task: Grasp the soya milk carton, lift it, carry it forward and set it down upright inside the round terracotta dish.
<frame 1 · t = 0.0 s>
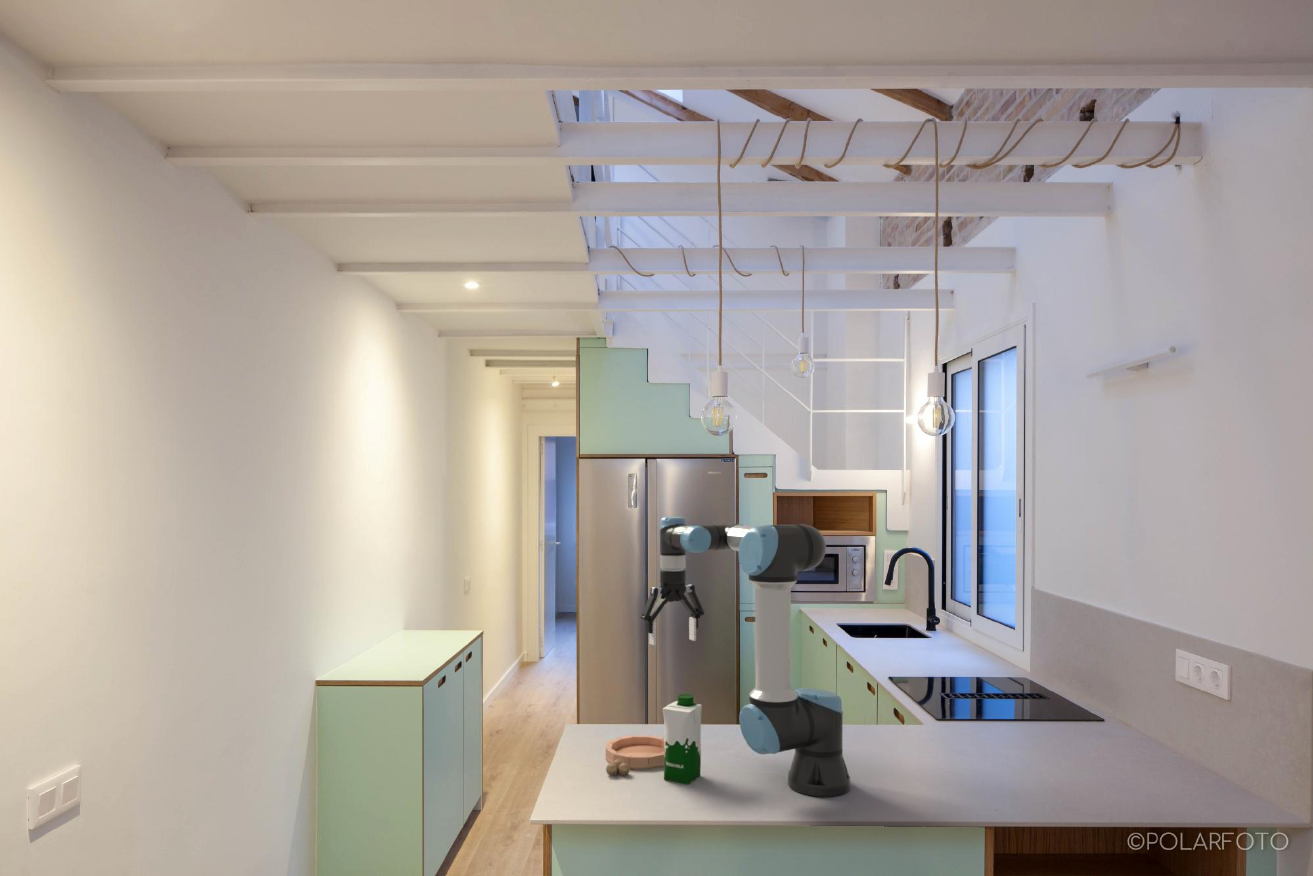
hand: (672, 642, 242), 28 cm above the countertop, fingers open, 13 cm apart
bead pile: (623, 775, 212), on the countertop
tray: (640, 757, 225), on the countertop
soya milk: (682, 778, 210), on the countertop
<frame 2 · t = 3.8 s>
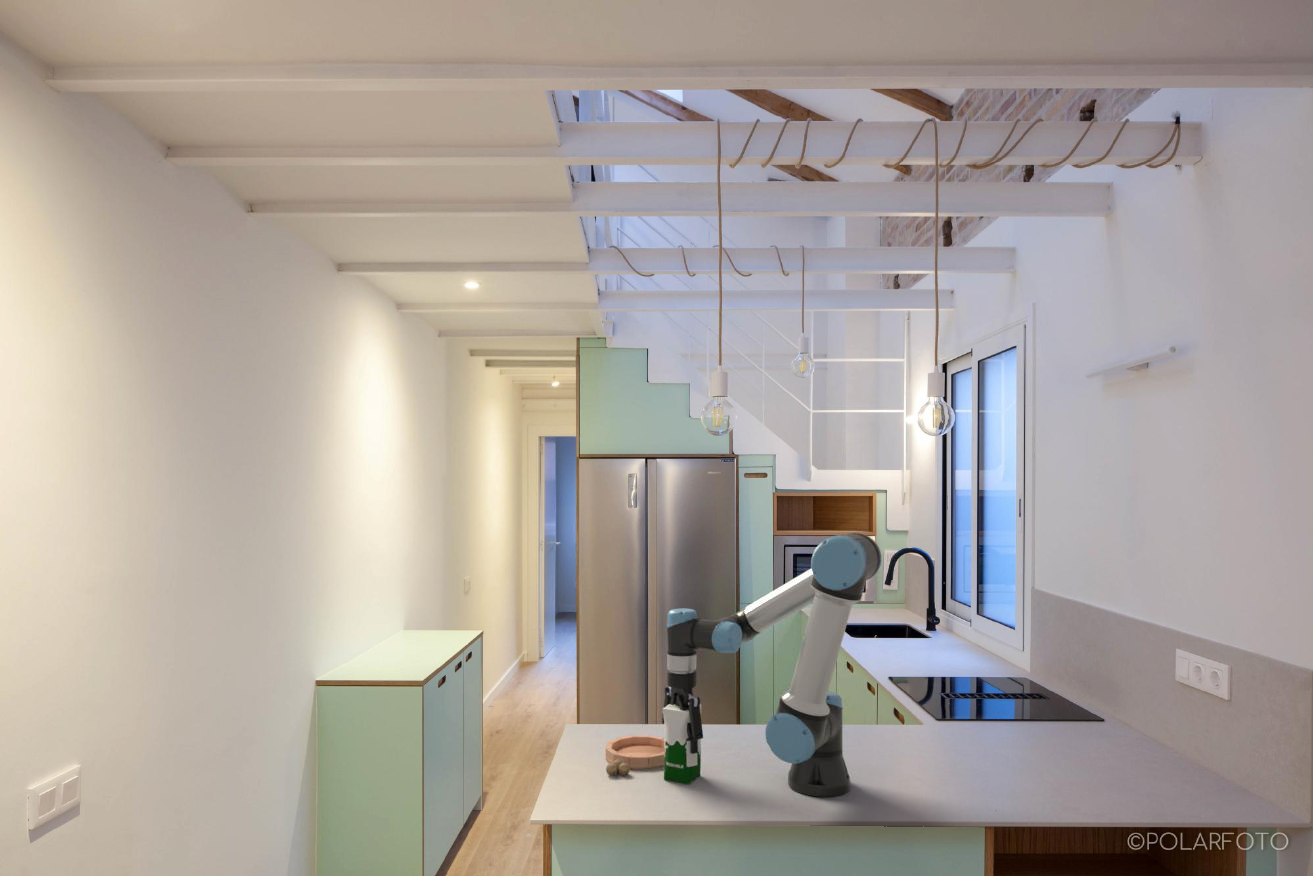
hand: (681, 759, 210), 5 cm above the countertop, fingers closed on soya milk, 9 cm apart
soya milk: (682, 778, 210), on the countertop, touching gripper
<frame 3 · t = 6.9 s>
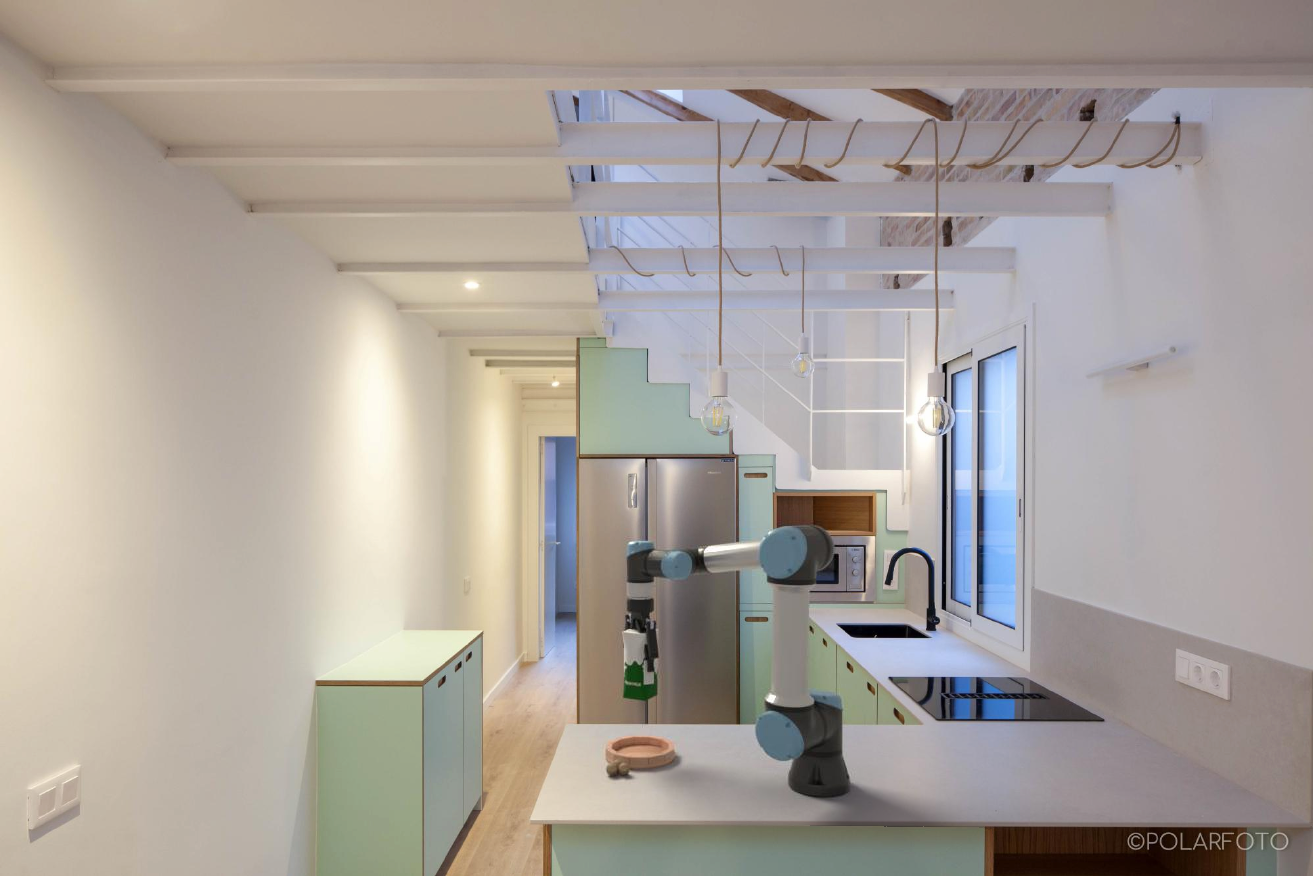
hand: (640, 680, 227), 21 cm above the countertop, fingers closed on soya milk, 9 cm apart
soya milk: (640, 697, 226), point 16 cm above the countertop, touching gripper
when the fingers open (7 cm above the countertop, at t = 9.8 s): soya milk drops 1 cm, resting on tray.
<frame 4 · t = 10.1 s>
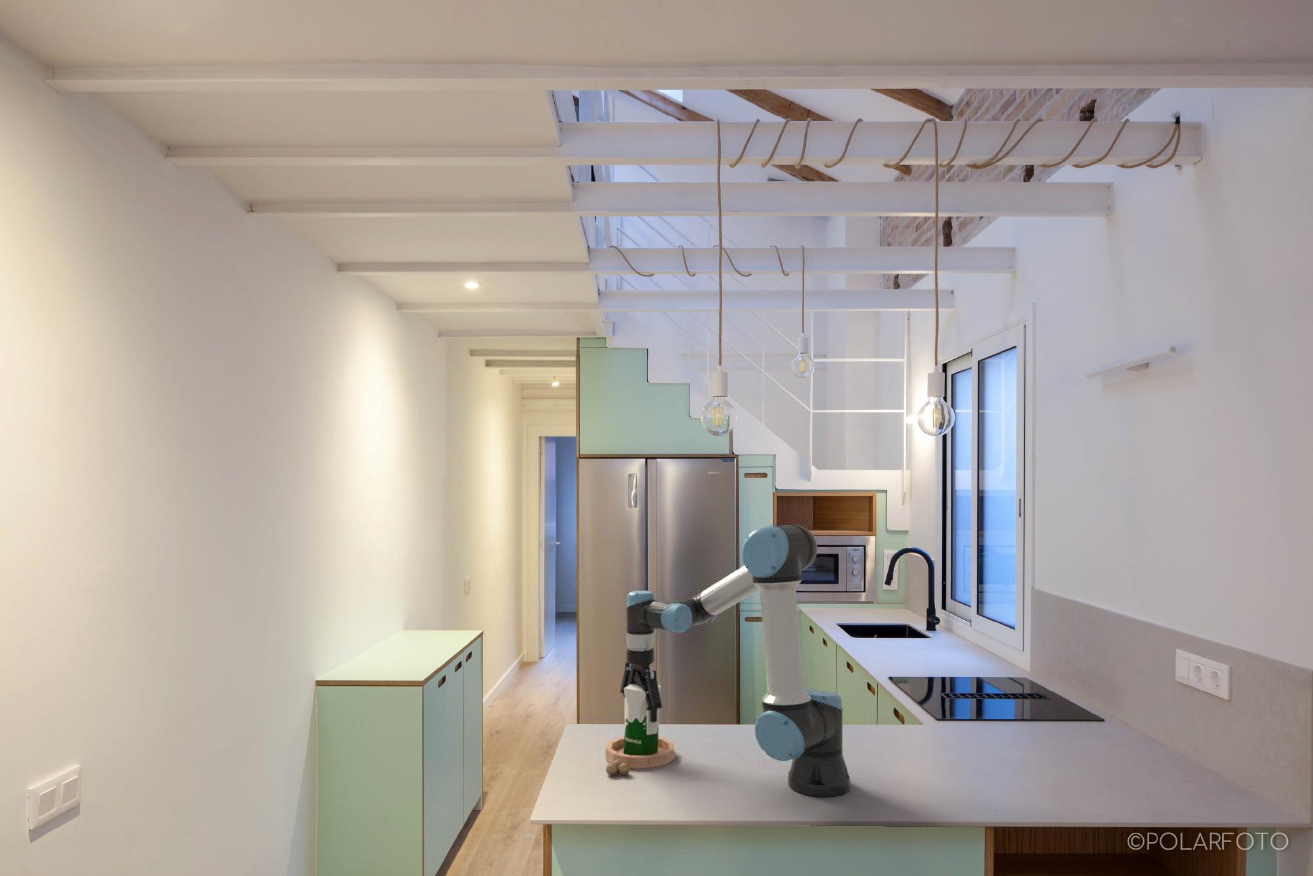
hand: (640, 727, 226), 8 cm above the countertop, fingers open, 12 cm apart
soya milk: (640, 754, 225), point 1 cm above the countertop, touching tray
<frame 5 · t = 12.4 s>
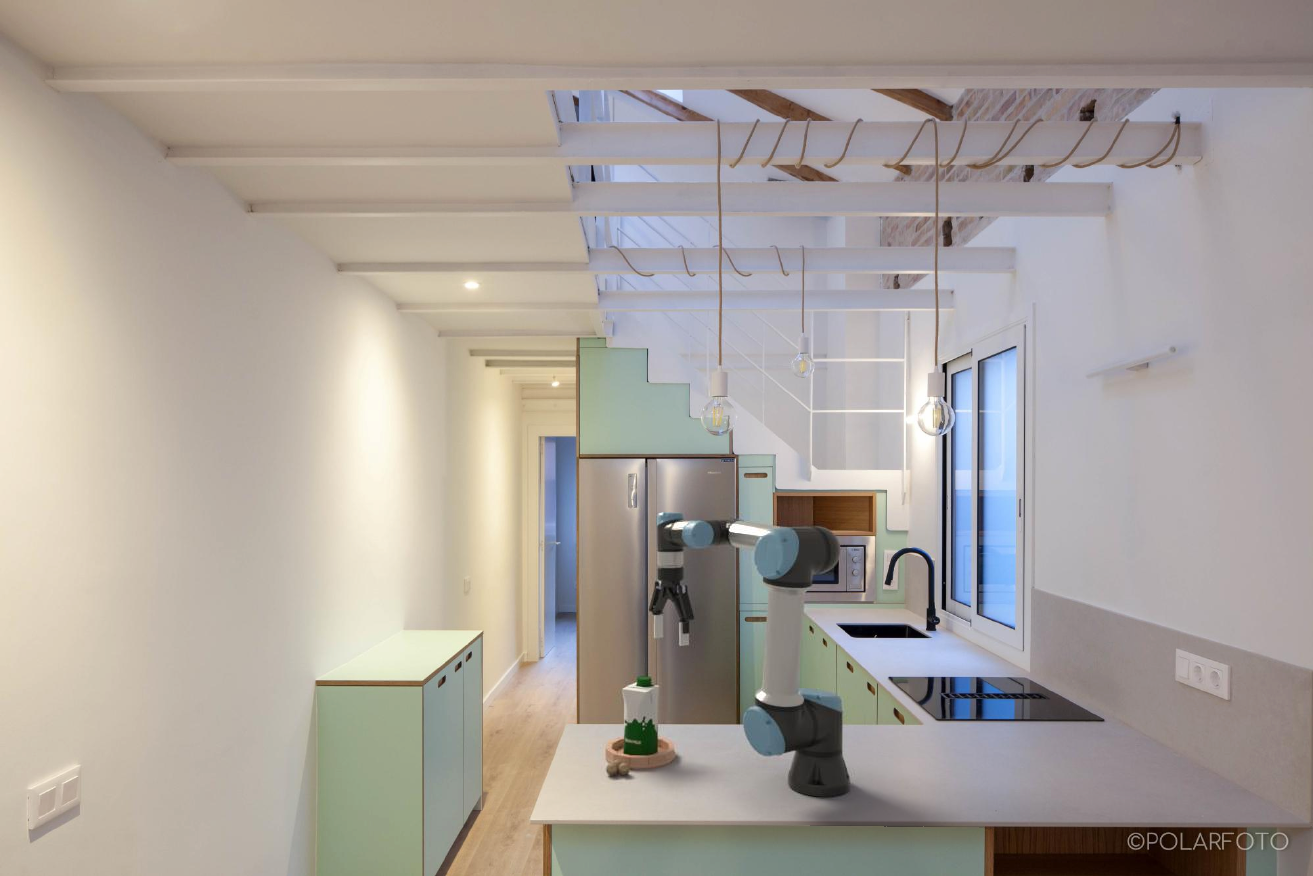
hand: (670, 641, 235), 30 cm above the countertop, fingers open, 13 cm apart
nothing on the countertop moved.
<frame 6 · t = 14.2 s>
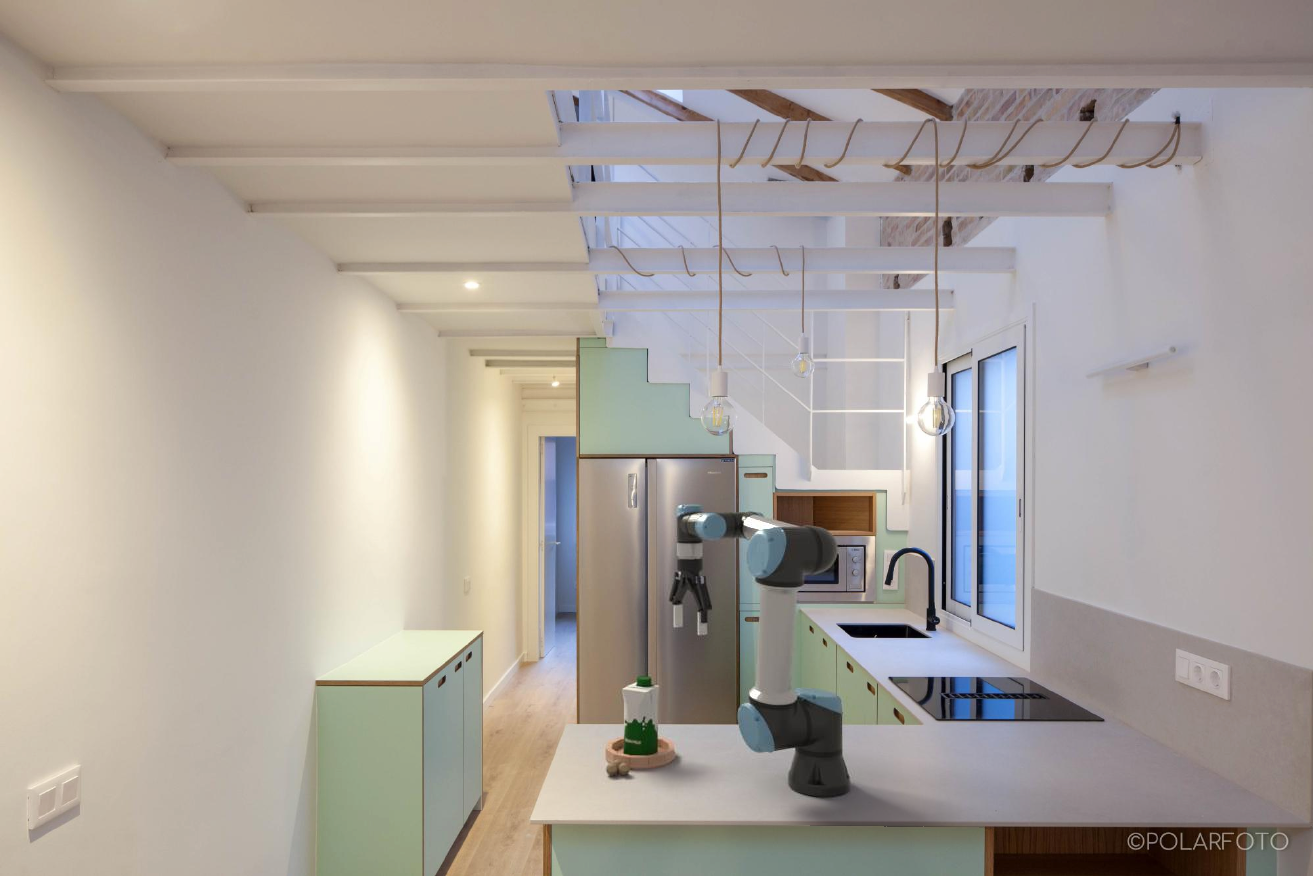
hand: (689, 630, 241), 32 cm above the countertop, fingers open, 13 cm apart
nothing on the countertop moved.
at the end: soya milk inside the target area on the tray (0.2 cm from its centre), point 0.8 cm above the tray's base; soya milk tilted 0°; the gripper is holding nothing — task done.
